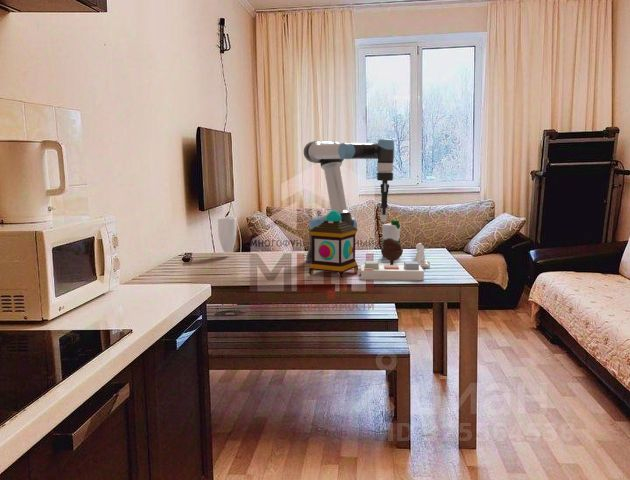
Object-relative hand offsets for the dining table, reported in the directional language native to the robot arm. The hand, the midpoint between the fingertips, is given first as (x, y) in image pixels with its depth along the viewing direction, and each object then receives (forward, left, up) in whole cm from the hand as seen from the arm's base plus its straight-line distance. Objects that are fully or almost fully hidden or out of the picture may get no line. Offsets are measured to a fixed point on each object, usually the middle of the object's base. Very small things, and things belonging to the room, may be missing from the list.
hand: (383, 221), depth 273 cm
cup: (-84, +33, -24) cm, 93 cm away
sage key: (-6, -17, -22) cm, 28 cm away
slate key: (+12, -17, -22) cm, 30 cm away
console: (+3, -17, -24) cm, 29 cm away
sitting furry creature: (+19, +8, -24) cm, 32 cm away
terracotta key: (+3, -17, -23) cm, 29 cm away
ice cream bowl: (+4, +2, -24) cm, 24 cm away
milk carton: (+6, +36, -24) cm, 44 cm away
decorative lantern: (-24, -12, -24) cm, 36 cm away
